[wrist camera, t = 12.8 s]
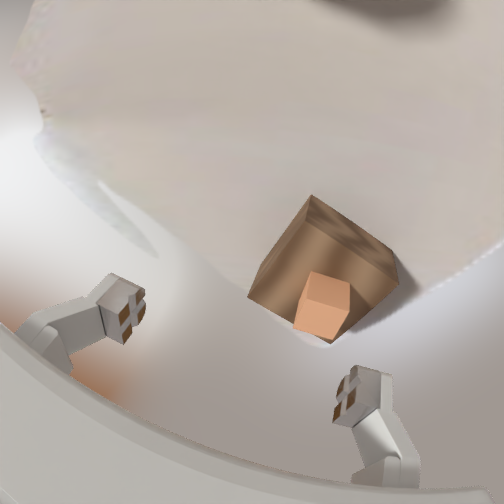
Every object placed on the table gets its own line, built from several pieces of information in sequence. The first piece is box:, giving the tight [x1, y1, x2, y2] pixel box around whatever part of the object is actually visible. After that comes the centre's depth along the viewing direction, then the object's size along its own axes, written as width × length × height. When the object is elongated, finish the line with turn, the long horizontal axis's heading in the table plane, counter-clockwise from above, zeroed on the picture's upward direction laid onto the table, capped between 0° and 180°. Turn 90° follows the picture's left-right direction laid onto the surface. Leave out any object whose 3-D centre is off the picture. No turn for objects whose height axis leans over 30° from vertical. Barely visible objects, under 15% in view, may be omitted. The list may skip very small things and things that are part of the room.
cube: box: [293, 271, 350, 340], centre depth 35 cm, size 5×5×5 cm
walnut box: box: [247, 194, 399, 344], centre depth 40 cm, size 14×14×8 cm
